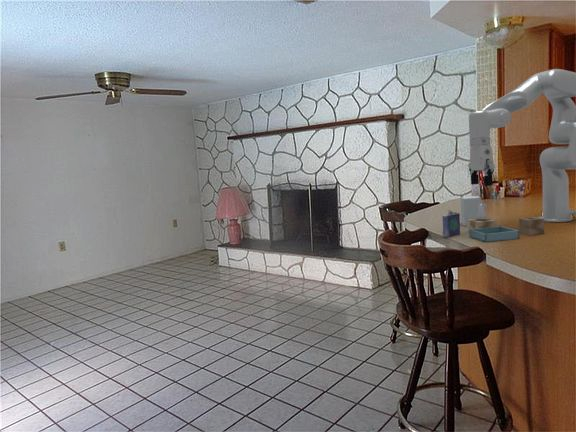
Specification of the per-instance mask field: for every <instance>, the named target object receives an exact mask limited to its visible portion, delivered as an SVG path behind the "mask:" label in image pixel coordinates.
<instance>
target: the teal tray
mask: <svg viewBox="0 0 576 432" xmlns="http://www.w3.org/2000/svg"><path fill="white" fill-rule="evenodd" d="M469 238H471V239H473V240H478V241H480V240H481V241H480V242H483V241H484V242H483V243H491V242H492V241H494V242H501V241H500V240H503V241H511V240H519V239H520V233H519V229H513V228H510V227H507V226H502V225H499V226H498V225H497V227H488V228H479V229H470V230H469Z"/></svg>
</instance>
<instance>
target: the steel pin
mask: <svg viewBox="0 0 576 432" xmlns="http://www.w3.org/2000/svg"><path fill="white" fill-rule="evenodd" d="M478 218H479V221H486V219H485V218H486V203H485V202H481V203H478Z"/></svg>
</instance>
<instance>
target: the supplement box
mask: <svg viewBox="0 0 576 432" xmlns="http://www.w3.org/2000/svg"><path fill="white" fill-rule="evenodd" d="M478 203H482V197H481V196H478V195H474V196H473V195H472V196H461V197H460V210H461V211H460V213H461V214H460V216H461V217H460V218H461V224H462V225H463V226H464V227H468V220H469V219H479V218H478Z"/></svg>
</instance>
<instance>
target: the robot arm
mask: <svg viewBox="0 0 576 432" xmlns="http://www.w3.org/2000/svg"><path fill="white" fill-rule="evenodd" d="M543 94H544V96H545V98H546V100H548V102H549V103H550V105H551V107H552V116H551V117H552V118H551V121H550V122H551V123H550V127H549V133H548V140H549V142H550V143H552V144H554V145H568V146H552V147H548V148H545V149H543V151H542V152H541V153H540V155H539V164H540V168H541V175H542V215H540V216H538V218H543V219H544V223H545V222H546V223H548V222H549V223H564V222H565V223H566V222H567V223H568V222H571V221H573V220H574V217H573V216H572V215H576V209H572V208H570V207H569V203H570V202H569V201H570V199H569V197H570V196H569V193H570V192H569V191H570V189H569V187H570V186H569V184H570V182H569V181H570V180H569V175H568V173H567V171H566V170H576V104H575V102H574V101H573V99H572V98H574V97H576V72H574V71H571V70H570V71H569V70H566V69H560V68H553V69H548V70H545V71H541V72H537V73H535V74H532V75H531V76H529V78H528V79H526V80H525V81H523V82H522V83H521V84H519V86H517V87H516V88H514V89H513V90H511V91H510V92H508V93H507V94H505V95H503V96H501V97H499V98H498V99H496V100H494V101H492V102H491V103H489V104H488V105H486V106H485V107H484V108H483V109H481V110H475V111H472V112H470V113H469V114H468V134H469V135H468V136H469V148H470V149H469V163H468V164H467V166H468V171H469V175H470V184H471V185H479V184H480V178H479V177H480V176H479V172H483V174H484V175H483V184H484V186H485V187H488V186H489V187H490V186H493V184H494V183H493V180H494V179H493V176H494V172H495V167H496V165H495V163H494V154H493V148H492V145H491V129H499V128H503V127H505V126H507V125H509V123H510V121H511V119H512V114H511V113H515V112H518V111H520V110H523V109H525V108H527V107H528V106H530V105H531V104H532V103H533V102H535V100H537V99H538V98H539V97H540V96H542V95H543Z"/></svg>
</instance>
